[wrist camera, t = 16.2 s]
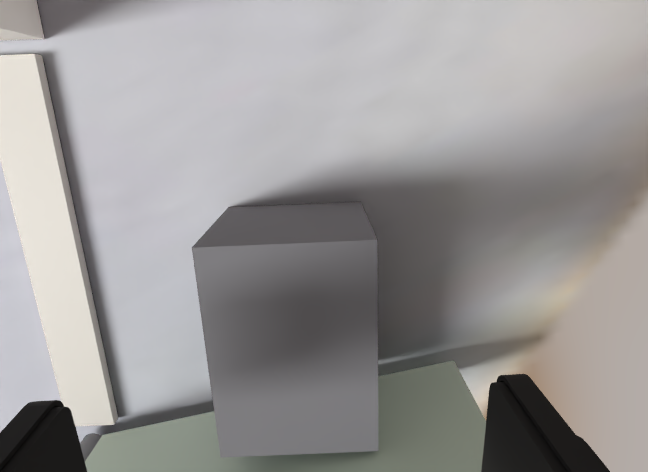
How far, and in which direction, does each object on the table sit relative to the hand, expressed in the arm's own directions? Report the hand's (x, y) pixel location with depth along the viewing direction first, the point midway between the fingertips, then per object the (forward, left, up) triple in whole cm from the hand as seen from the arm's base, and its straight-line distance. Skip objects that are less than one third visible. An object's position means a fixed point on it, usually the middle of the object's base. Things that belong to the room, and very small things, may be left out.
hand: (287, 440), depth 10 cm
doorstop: (0, 0, -8) cm, 8 cm away
